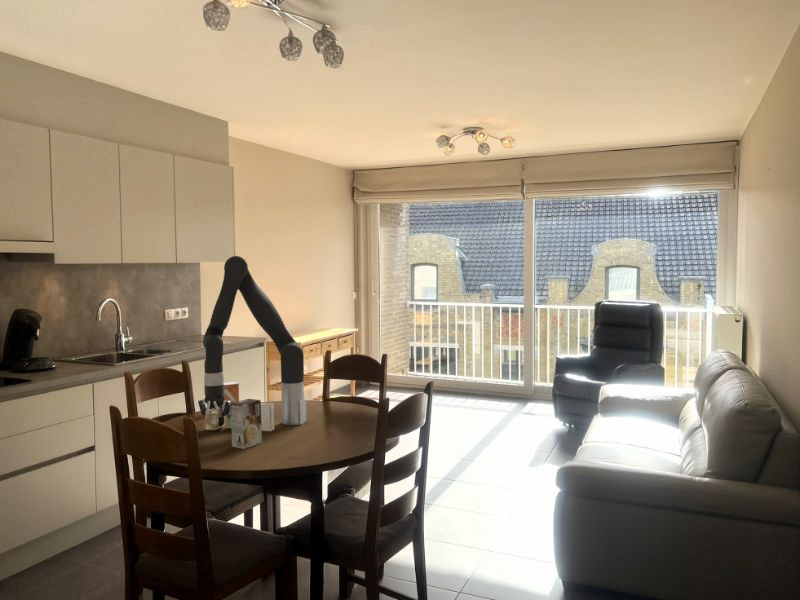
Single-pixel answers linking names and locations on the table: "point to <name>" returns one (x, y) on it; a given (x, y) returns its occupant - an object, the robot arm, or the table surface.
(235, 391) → the small box
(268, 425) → the wall with pocket
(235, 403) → the coffee box
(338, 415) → the table surface
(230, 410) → the sliding door
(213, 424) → the block
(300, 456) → the table surface
